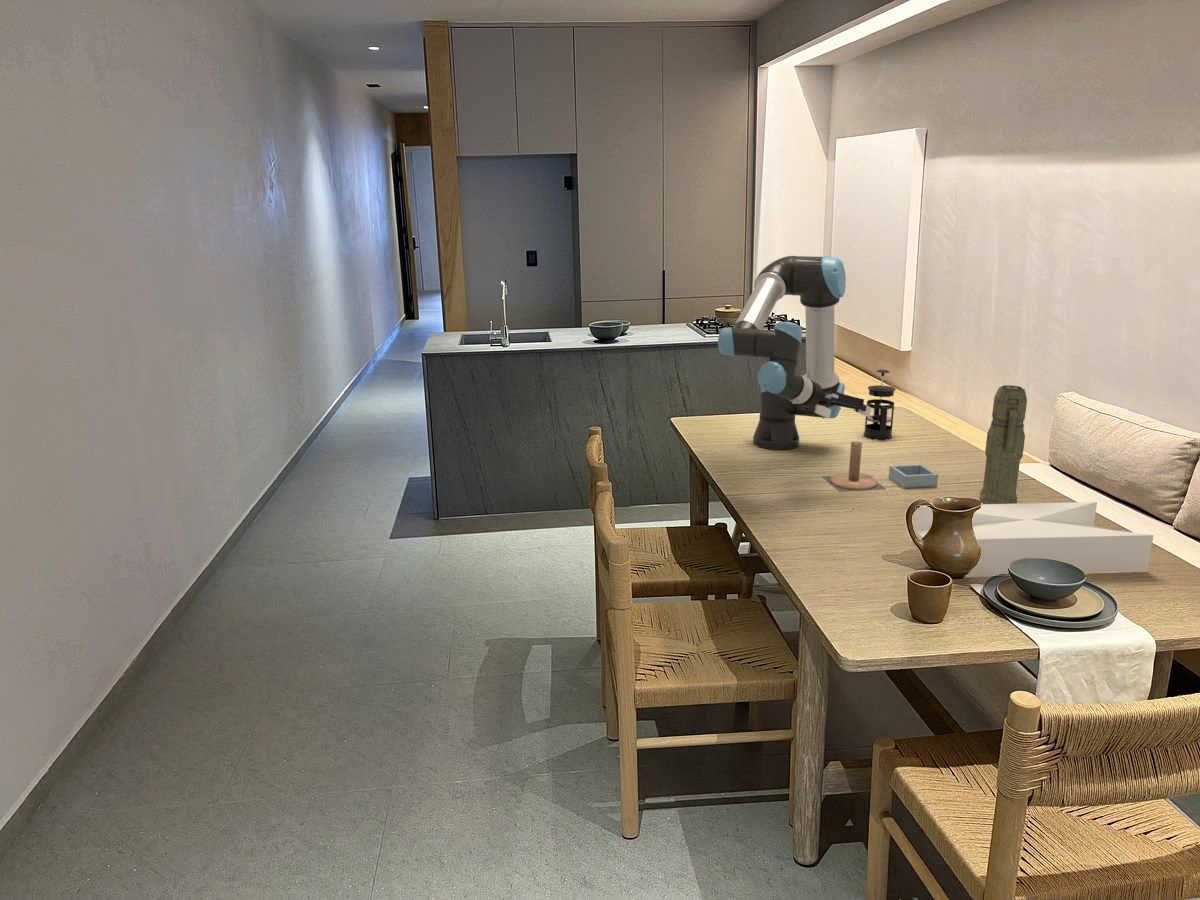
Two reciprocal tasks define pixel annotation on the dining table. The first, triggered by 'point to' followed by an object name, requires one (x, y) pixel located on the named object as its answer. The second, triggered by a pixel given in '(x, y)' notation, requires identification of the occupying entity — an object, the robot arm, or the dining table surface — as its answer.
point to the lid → (854, 473)
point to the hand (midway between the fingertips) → (849, 413)
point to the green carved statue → (1004, 446)
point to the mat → (827, 478)
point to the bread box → (1048, 537)
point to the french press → (881, 429)
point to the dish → (913, 476)
